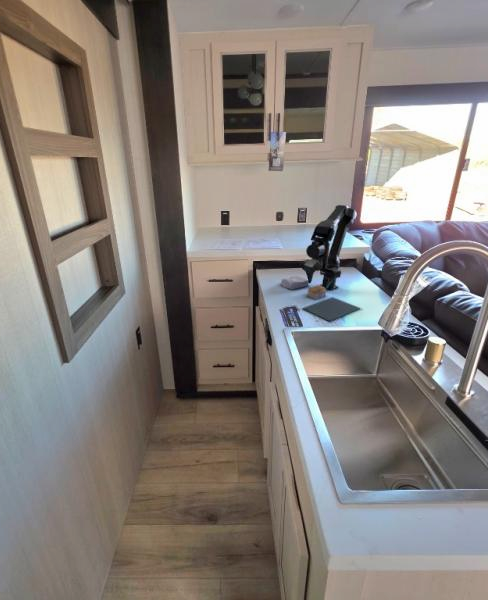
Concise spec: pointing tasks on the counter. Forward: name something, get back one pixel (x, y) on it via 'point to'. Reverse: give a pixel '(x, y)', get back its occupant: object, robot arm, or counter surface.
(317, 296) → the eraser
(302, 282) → the stone block
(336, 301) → the slate mat
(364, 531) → the counter surface
